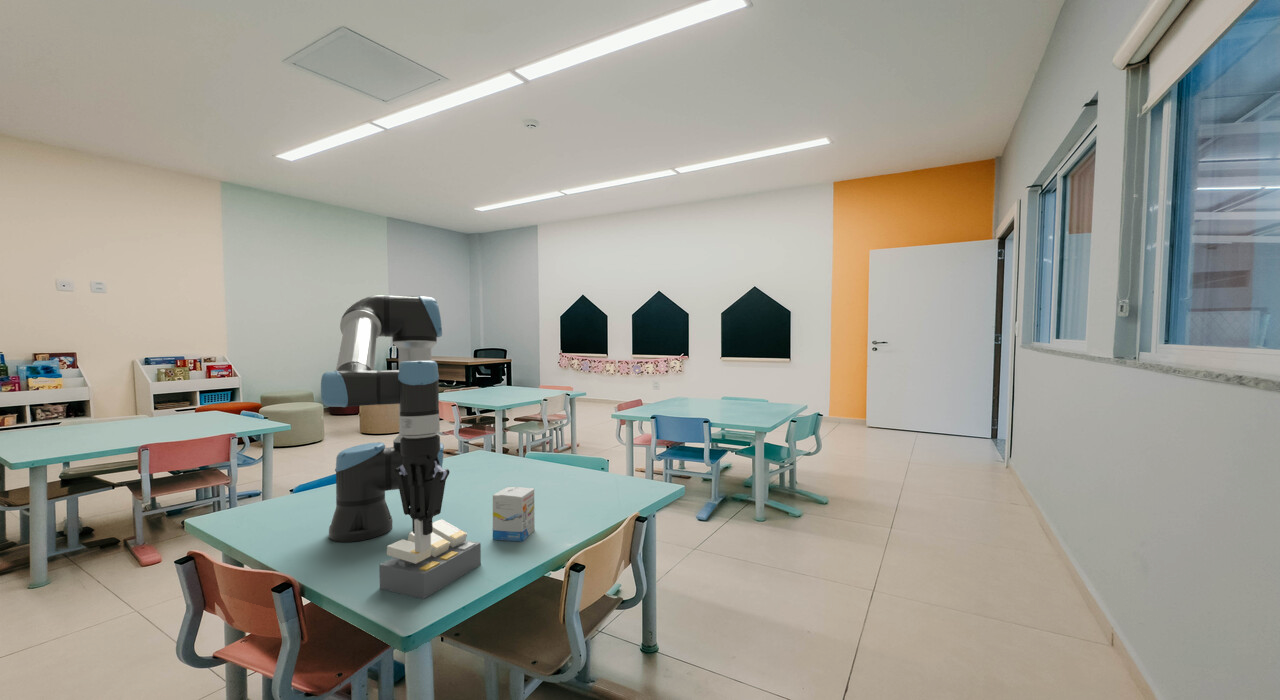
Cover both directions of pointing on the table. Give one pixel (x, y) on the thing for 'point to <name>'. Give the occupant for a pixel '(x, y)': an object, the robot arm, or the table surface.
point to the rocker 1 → (407, 551)
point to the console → (429, 570)
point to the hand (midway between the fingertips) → (423, 549)
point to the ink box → (513, 514)
